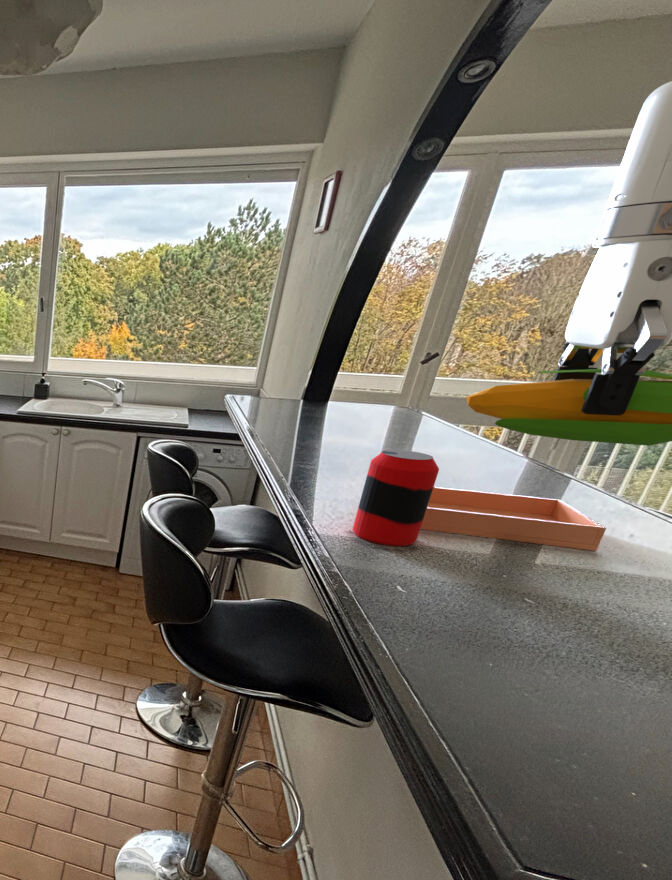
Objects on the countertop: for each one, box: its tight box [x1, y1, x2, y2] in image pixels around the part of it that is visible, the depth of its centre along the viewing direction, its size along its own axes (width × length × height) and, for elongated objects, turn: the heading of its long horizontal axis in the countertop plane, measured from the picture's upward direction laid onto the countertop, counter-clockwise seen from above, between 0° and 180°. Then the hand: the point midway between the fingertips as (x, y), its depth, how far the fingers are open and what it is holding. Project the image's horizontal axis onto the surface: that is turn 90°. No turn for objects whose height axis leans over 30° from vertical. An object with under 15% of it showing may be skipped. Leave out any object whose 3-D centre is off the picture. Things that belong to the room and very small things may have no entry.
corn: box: [465, 368, 672, 447], centre depth 65 cm, size 7×8×20 cm
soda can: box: [352, 449, 440, 547], centre depth 82 cm, size 8×8×12 cm
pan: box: [420, 486, 607, 552], centre depth 89 cm, size 24×14×3 cm, turn 65°
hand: (582, 407), depth 65 cm, fingers closed on corn, 7 cm apart
